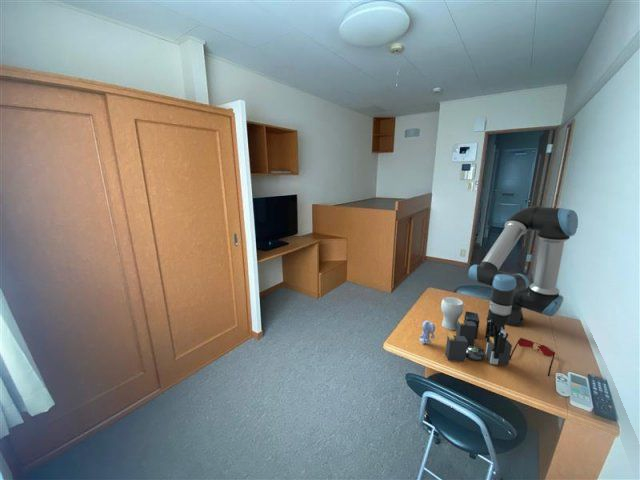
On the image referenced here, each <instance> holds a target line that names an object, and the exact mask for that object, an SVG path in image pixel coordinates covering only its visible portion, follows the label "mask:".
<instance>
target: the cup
mask: <svg viewBox="0 0 640 480" xmlns="http://www.w3.org/2000/svg"><path fill="white" fill-rule="evenodd" d="M440 310H441V312H442V315H443V319H442V323H441V326H442V327H443V328H444V329H445V330H450V331H457V325H458V319H460V317H461V316H462V314H463V313H464V302H463V300H461V299H460V298H457V297H453V296H446V297H444V298H442V300H441V305H440Z"/></svg>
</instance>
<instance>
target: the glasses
mask: <svg viewBox="0 0 640 480" xmlns="http://www.w3.org/2000/svg"><path fill="white" fill-rule="evenodd" d="M535 344H536V345H537V347H538V348H537V351H538V352H539V351H540V352H541V353H542V354H543V355H544V356H546V357H552V358H551V361H550V364H549V368H548V372H547V377H550V375H551V369H552V366H553V362H554V358H555V355H556V352H555V350H554V349H553V348H551V347H549V346H546V345H545V344H540V343H537V342H534V341H532V340H529V339H526V338H523V337H520V338H519V339H518V340H517V342H516V344H515V346H514V347H513V349H512V350H511V354H510V359H509V361H511V359H512V356H513V354H514V352H515V350H516V348H517V346H518V345H519V347H522V348H523V347H525V348H531V349H532V350H533V349H534V345H535Z"/></svg>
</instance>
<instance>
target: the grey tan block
mask: <svg viewBox="0 0 640 480" xmlns="http://www.w3.org/2000/svg"><path fill="white" fill-rule="evenodd" d="M457 323H458V325H457V330H456V333H455V336H465V338H466V340H467V341H468V343H469V344H474V345H475V341H476V339H475V335H476V328H477V326H476V324H475V323H474V322H471V321H464V320H463V319H462V318H458V322H457Z"/></svg>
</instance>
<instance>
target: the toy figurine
mask: <svg viewBox="0 0 640 480" xmlns="http://www.w3.org/2000/svg"><path fill="white" fill-rule="evenodd" d="M421 328H422V334H420V335H419V342H420V343H421V344H422V345H425V344H427V345H431V340H432V339H435V335H434V333H435V331H436V326H435V323H433V322H431V321H429V320H425V321H423V322H422V323H421ZM430 334H431V336H430ZM430 338H431V340H430Z"/></svg>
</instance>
